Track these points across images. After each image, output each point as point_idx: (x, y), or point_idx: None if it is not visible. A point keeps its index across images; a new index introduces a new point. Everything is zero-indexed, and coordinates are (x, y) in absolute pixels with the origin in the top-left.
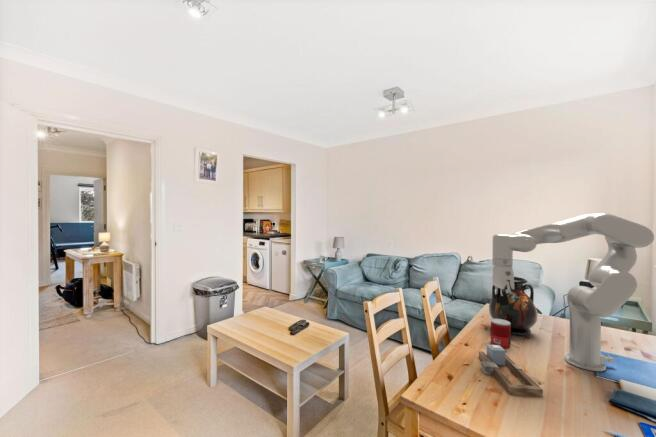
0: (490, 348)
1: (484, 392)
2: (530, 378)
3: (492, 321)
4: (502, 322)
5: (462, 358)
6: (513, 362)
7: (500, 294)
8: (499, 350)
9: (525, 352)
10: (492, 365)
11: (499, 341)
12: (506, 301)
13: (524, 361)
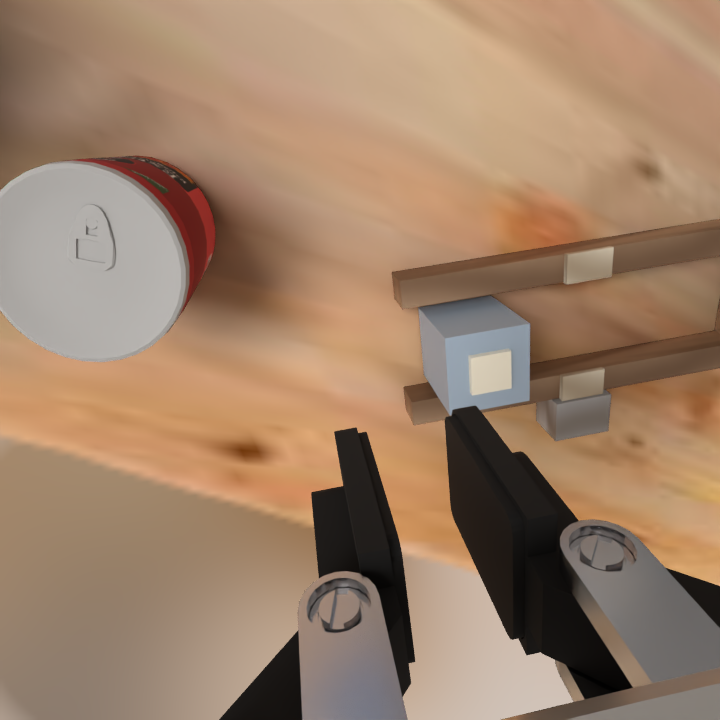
0: (503, 403)
1: (716, 437)
2: (693, 235)
3: (128, 356)
4: (90, 249)
5: (443, 485)
6: (526, 265)
7: (559, 672)
8: (529, 358)
9: (239, 72)
10: (589, 393)
11: (208, 261)
12: (536, 473)
13: (402, 148)
